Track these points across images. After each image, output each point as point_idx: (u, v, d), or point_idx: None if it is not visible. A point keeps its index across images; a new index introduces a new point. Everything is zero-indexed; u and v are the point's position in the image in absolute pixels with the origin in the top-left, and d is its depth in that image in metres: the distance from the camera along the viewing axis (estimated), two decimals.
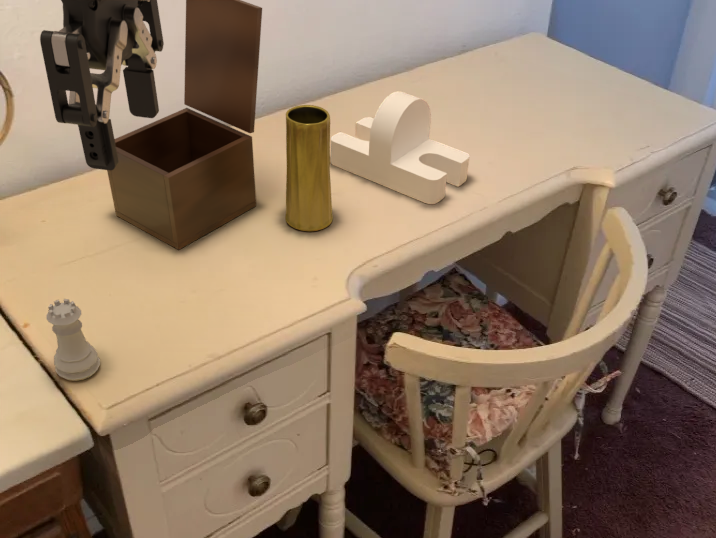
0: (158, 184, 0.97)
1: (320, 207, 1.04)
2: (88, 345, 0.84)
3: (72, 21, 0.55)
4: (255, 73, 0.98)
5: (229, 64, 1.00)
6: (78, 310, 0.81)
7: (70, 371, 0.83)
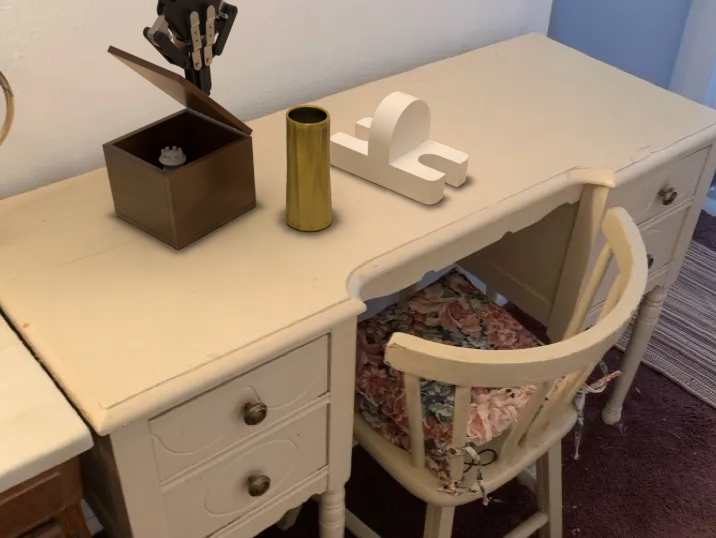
0: (158, 184, 0.97)
1: (320, 207, 1.04)
2: None
3: (161, 11, 0.91)
4: (217, 108, 0.96)
5: (193, 100, 0.98)
6: (184, 155, 1.02)
7: None
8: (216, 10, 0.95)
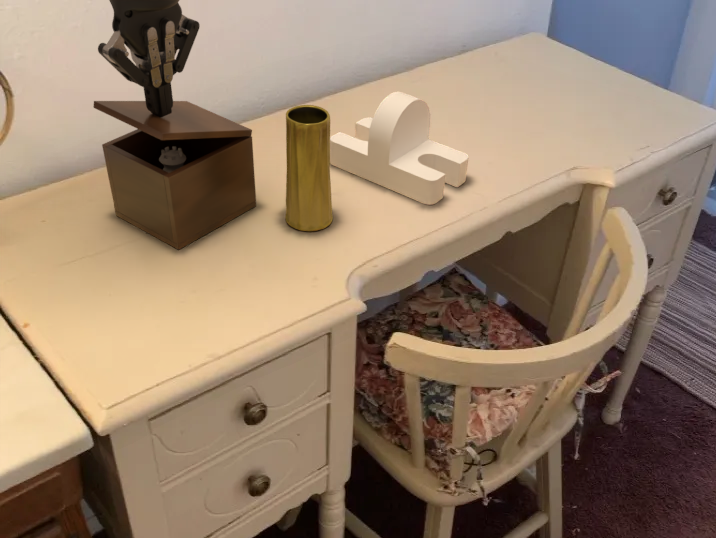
0: (158, 184, 0.97)
1: (320, 207, 1.04)
2: None
3: (116, 27, 0.88)
4: (209, 135, 0.97)
5: None
6: (184, 155, 1.02)
7: None
8: (176, 25, 0.92)
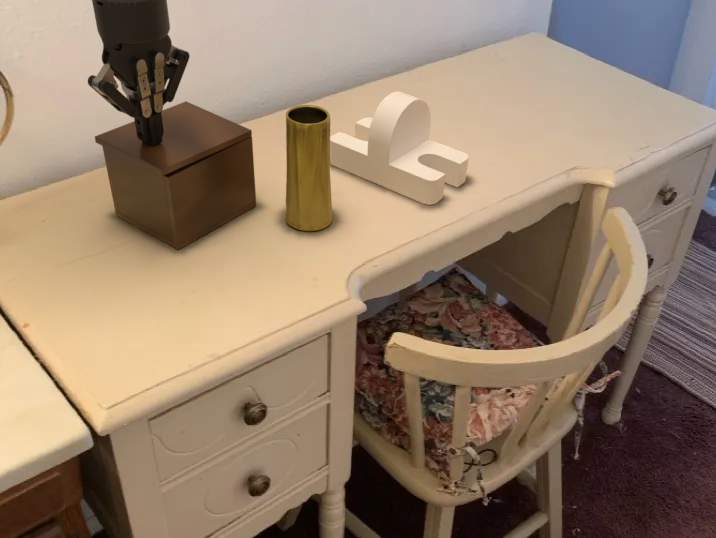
0: (158, 184, 0.97)
1: (320, 207, 1.04)
2: None
3: (106, 60, 0.88)
4: (209, 152, 0.98)
5: None
6: None
7: None
8: (166, 56, 0.93)
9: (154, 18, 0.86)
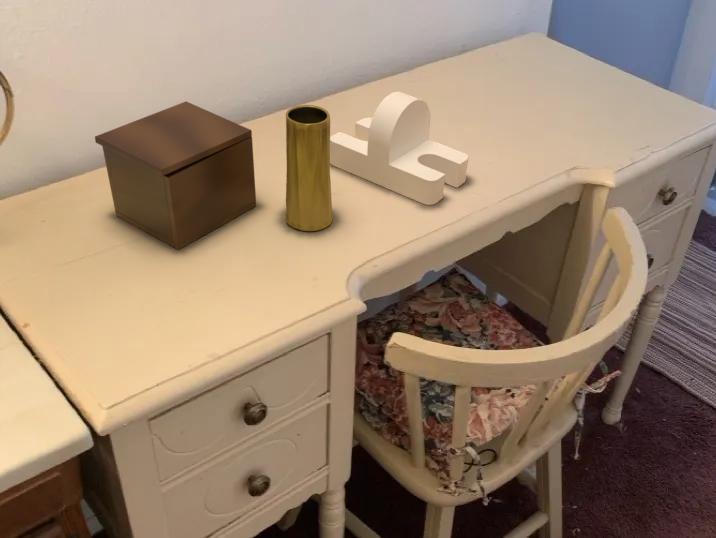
0: (158, 184, 0.97)
1: (320, 207, 1.04)
2: None
3: None
4: (209, 152, 0.98)
5: None
6: None
7: None
8: None
9: None
